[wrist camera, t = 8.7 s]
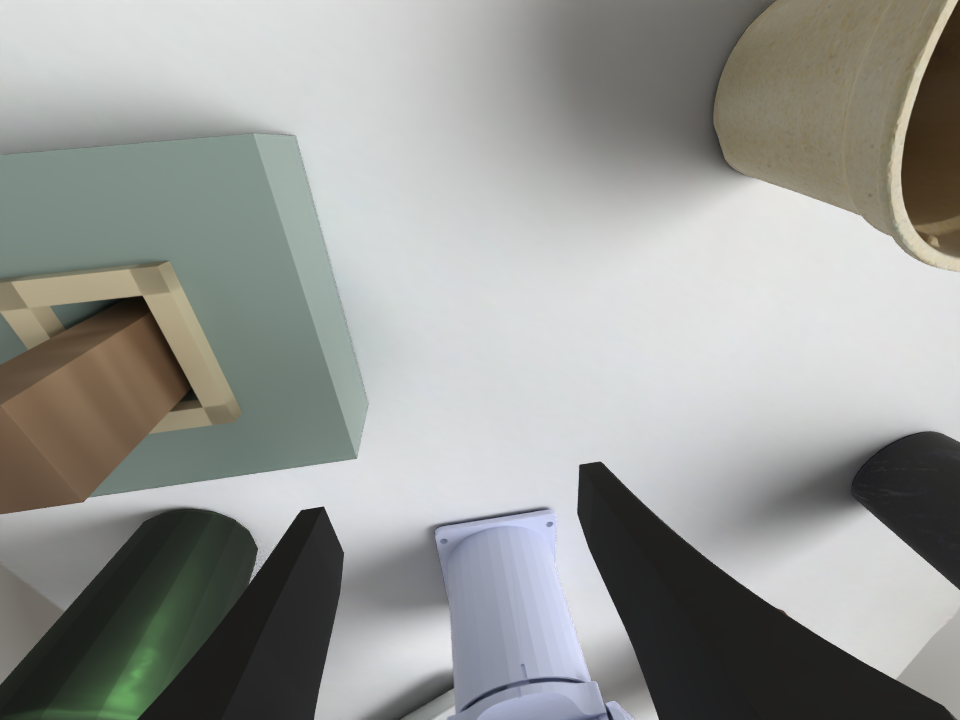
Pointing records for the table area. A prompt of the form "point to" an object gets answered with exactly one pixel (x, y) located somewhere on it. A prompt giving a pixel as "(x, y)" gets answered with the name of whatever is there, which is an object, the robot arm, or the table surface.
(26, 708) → the potion bottle
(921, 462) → the travel mug
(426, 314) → the table surface
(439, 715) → the salad plate
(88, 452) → the brown wooden block
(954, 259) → the flower pot
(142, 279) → the sage green square pedestal
